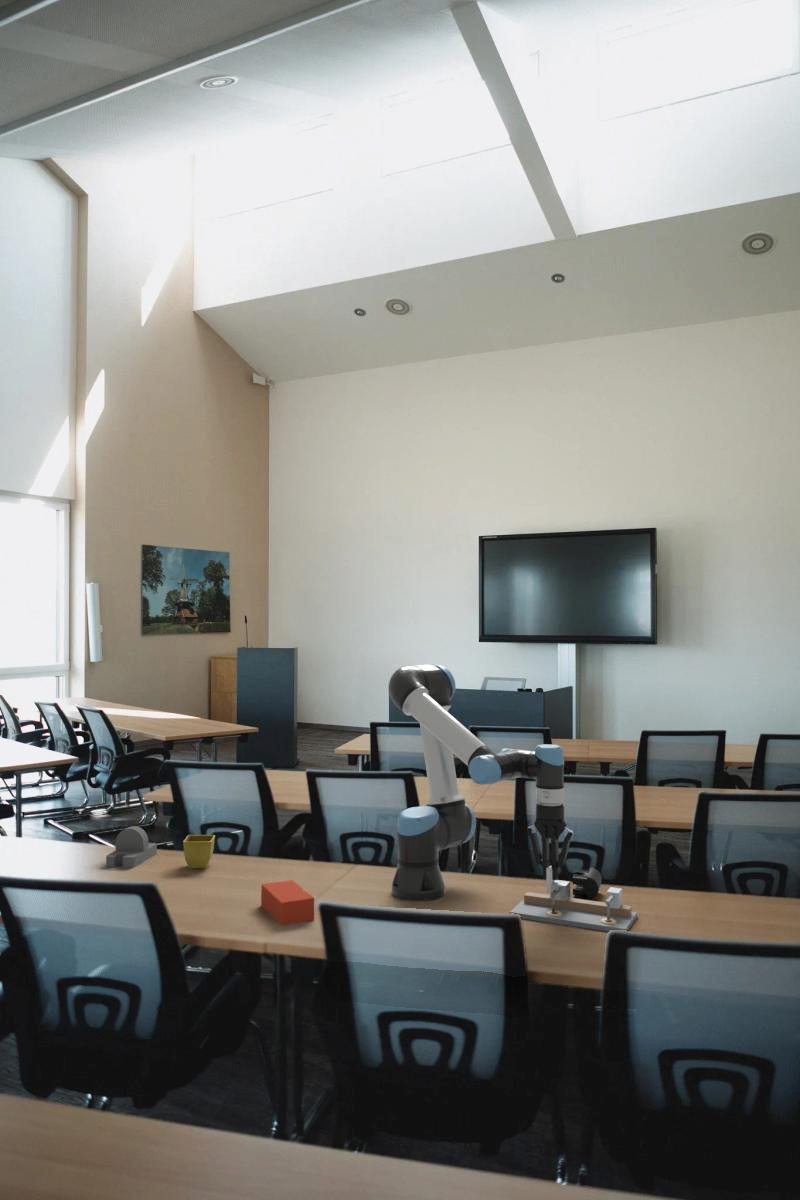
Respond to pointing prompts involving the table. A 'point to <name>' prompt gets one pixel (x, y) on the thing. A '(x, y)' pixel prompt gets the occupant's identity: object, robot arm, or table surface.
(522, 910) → the board
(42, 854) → the table surface
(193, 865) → the flower pot
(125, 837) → the bracket
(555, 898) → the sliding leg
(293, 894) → the brick
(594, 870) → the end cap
